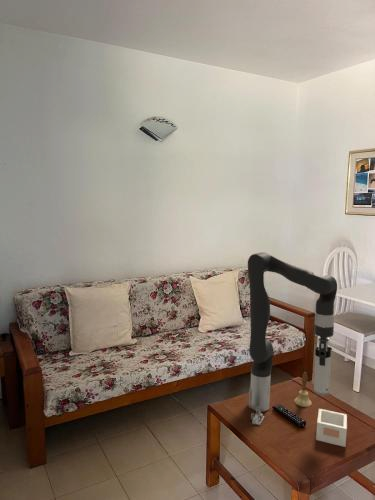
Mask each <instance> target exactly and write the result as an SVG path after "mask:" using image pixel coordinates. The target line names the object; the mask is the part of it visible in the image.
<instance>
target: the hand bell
mask: <svg viewBox="0 0 375 500" xmlns="http://www.w3.org/2000/svg"><path fill="white" fill-rule="evenodd" d="M301 382H302V385H301V386H302V387H301V390H299V391H298V393H297V394H298V395H297V397H296V398H294V400H293V401H294V403H295V404H296V405H297V406H300V407H304V408H308V407H311V406H312V405H313V404H312V401H311V400H310V397H309V392H308V391H306V388H307V387H306V386H307V382H308V374H307V372H306V371H304V372H303V374H302V377H301Z"/></svg>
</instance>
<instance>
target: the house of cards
mask: <svg viewBox="0 0 375 500" xmlns="http://www.w3.org/2000/svg"><path fill="white" fill-rule="evenodd" d="M255 411H256V412H255V413H252V412H251V415H250V420H252V422H251V424H253V425H257V426H261V424H262V423H263V421H264V419H265V416H264V414H263V413H262V412H261V411H260V406H257V409H256V410H255Z"/></svg>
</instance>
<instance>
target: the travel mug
mask: <svg viewBox="0 0 375 500" xmlns="http://www.w3.org/2000/svg"><path fill="white" fill-rule="evenodd" d="M318 348H319V346H317V347H315V353H314V371H313V372H314V375H313V376H314V378H313V380H314V381H313V392H314V394H316V395H318V396H321V397H325V396H326V397H327V396H329V395H330V390H331V388H330V387H331V386H330V385H331V383H330V382H331V364H332V363H331V362H332V356H331V355H332V351H333V348H332V347H331V346H328V347H327V352H326V357H325V366H321V365H319V360H320V357H319V350H318ZM321 354H324V352H321Z"/></svg>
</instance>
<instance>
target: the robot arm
mask: <svg viewBox="0 0 375 500" xmlns="http://www.w3.org/2000/svg"><path fill="white" fill-rule="evenodd" d="M247 272H248V281H249V312H250V313H249V314H250V337H249V339H250V340H249V355H250V359H252V361H253V363H252V365H251V367H250V387H249V392H248V396H249V397H248V408H249V409H252V410H253V411H256V409H257V406H260V411H261V413H262V412H263V413H264V412H266V411H268V410H269V409H270V400H271V397H270V396H271V378H272V377H271V376H272V375H271V372H272V369H273V362H274V346H273V344H272V342H271V341H270V340H269V339H266V334H267V330H268V329H267V328H268V326H269V322H270V317H271V301H270V297H269V294H268V292H267V290H266V288H265V284H264V283H265V282H264V280H265V279H264V276H265V273H266V272H270V273H275V274H279V275H281V276H282V277H283V278H285V279H286V280H288V281H290V282H292V283H294V284H297V285H299V286H302V287H305V288H307V289H309V290H310V291H312V292H314V293H316V294H319V297H318V298H317V299H316V303H315V314H314V329H313V330H314V332H313V333H314V335H315V336H318V338H317V339H318V342H317V343H318V347H319V348H318V350H319V357H320V360H319V365H321V366H325V357H326V352H327V347H329V342H330V341H329V338H331V337H333V336H334V328H335V327H334V326H335V316H334V313H335V312H334V311H335V310H334V309H335V301H336V297H337V292H338V281H337V280H336V278H335V277H334V276H333V275H328V274H327V275H324V276H319V275H316V274H315V273H314V272H313V271H311V270H309V269H305V268H303V267H300V266H296V265H293V264H290V263H288V262H285V261H283V260H281V259H280V258H279V259H278V258H277V257H275V256H273V255H272V254H269V253H267V252H258V253H252V254H251V255H250V256H249V257H248V259H247ZM321 352H324V354H321Z"/></svg>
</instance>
